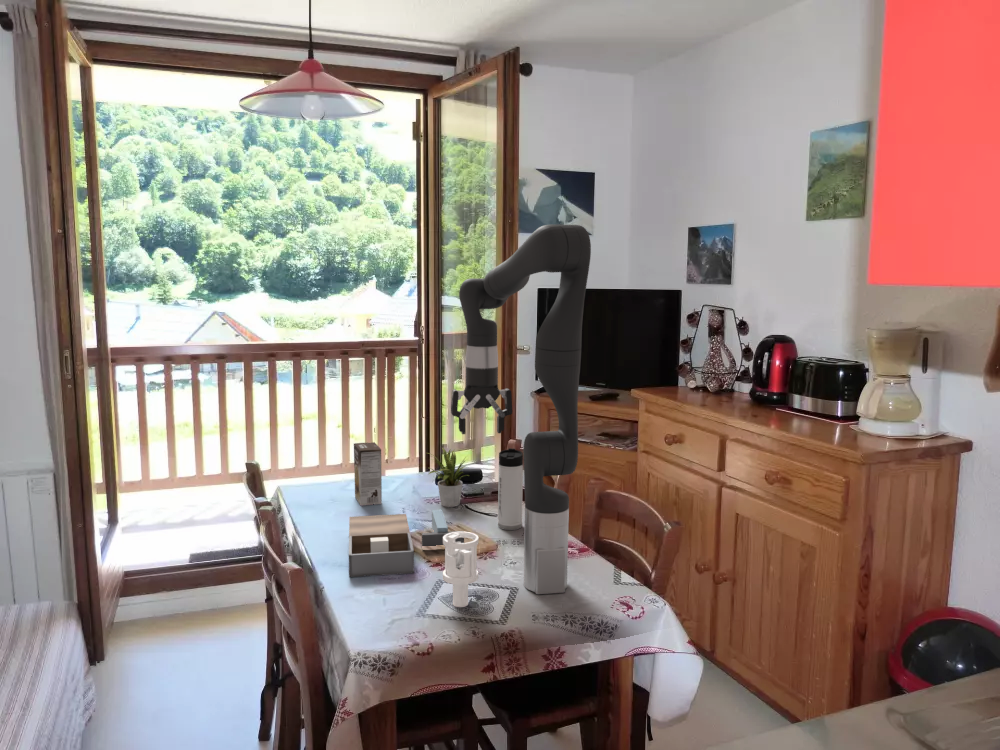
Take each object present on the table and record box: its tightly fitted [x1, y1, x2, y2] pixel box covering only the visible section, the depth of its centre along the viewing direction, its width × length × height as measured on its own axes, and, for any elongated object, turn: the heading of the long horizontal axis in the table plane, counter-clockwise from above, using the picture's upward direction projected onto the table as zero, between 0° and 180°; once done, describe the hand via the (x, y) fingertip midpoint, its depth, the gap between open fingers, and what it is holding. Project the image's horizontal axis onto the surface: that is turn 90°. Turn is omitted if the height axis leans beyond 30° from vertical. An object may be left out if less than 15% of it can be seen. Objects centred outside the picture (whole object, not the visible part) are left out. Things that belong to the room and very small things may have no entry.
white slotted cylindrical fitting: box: [442, 530, 479, 608], centre depth 153 cm, size 7×7×15 cm
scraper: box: [421, 509, 465, 547], centre depth 190 cm, size 16×10×5 cm, turn 11°
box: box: [348, 532, 415, 578], centre depth 173 cm, size 12×14×5 cm
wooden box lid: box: [348, 513, 411, 554], centre depth 186 cm, size 14×14×5 cm
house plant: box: [427, 447, 470, 508], centre depth 218 cm, size 14×14×16 cm
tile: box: [370, 537, 389, 553], centre depth 177 cm, size 4×4×2 cm
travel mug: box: [497, 448, 524, 531], centre depth 199 cm, size 6×7×20 cm
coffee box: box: [353, 441, 383, 507], centre depth 220 cm, size 9×6×16 cm
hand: (481, 433), depth 181 cm, fingers open, 8 cm apart
